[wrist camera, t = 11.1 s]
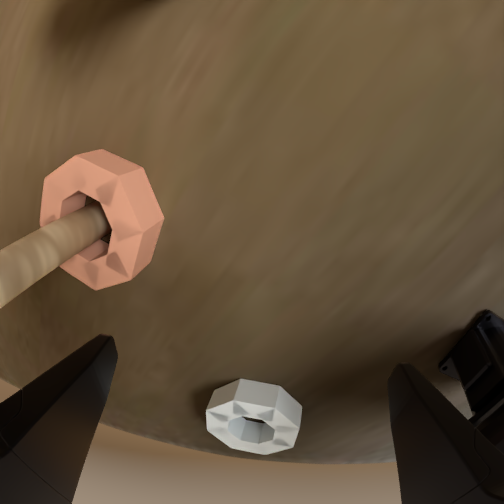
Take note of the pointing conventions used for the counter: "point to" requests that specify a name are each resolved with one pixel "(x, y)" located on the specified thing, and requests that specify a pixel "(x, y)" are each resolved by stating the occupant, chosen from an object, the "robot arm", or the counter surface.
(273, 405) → the bead
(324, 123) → the counter surface
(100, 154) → the bead ring
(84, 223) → the dowel
